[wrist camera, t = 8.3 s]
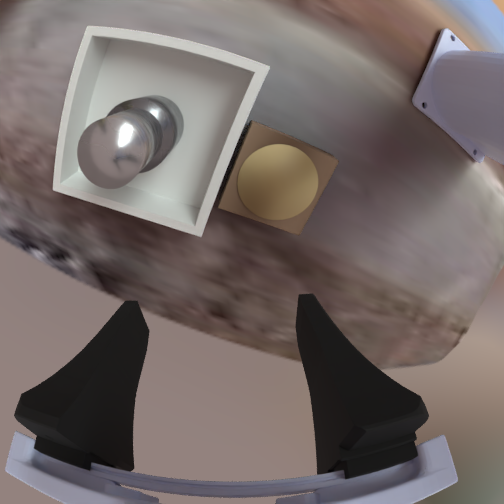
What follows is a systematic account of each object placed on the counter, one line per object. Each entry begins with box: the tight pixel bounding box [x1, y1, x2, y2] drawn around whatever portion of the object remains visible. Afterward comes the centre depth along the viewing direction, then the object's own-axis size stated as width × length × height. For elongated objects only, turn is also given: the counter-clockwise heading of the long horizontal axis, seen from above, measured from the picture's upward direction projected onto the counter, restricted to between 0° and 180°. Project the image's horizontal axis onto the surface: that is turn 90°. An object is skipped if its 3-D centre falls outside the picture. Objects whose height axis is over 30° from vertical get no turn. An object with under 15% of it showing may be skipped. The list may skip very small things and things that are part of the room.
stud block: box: [218, 120, 339, 236], centre depth 18 cm, size 6×6×2 cm
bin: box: [53, 26, 270, 237], centre depth 15 cm, size 11×11×3 cm
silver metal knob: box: [77, 95, 184, 189], centre depth 13 cm, size 4×4×7 cm
